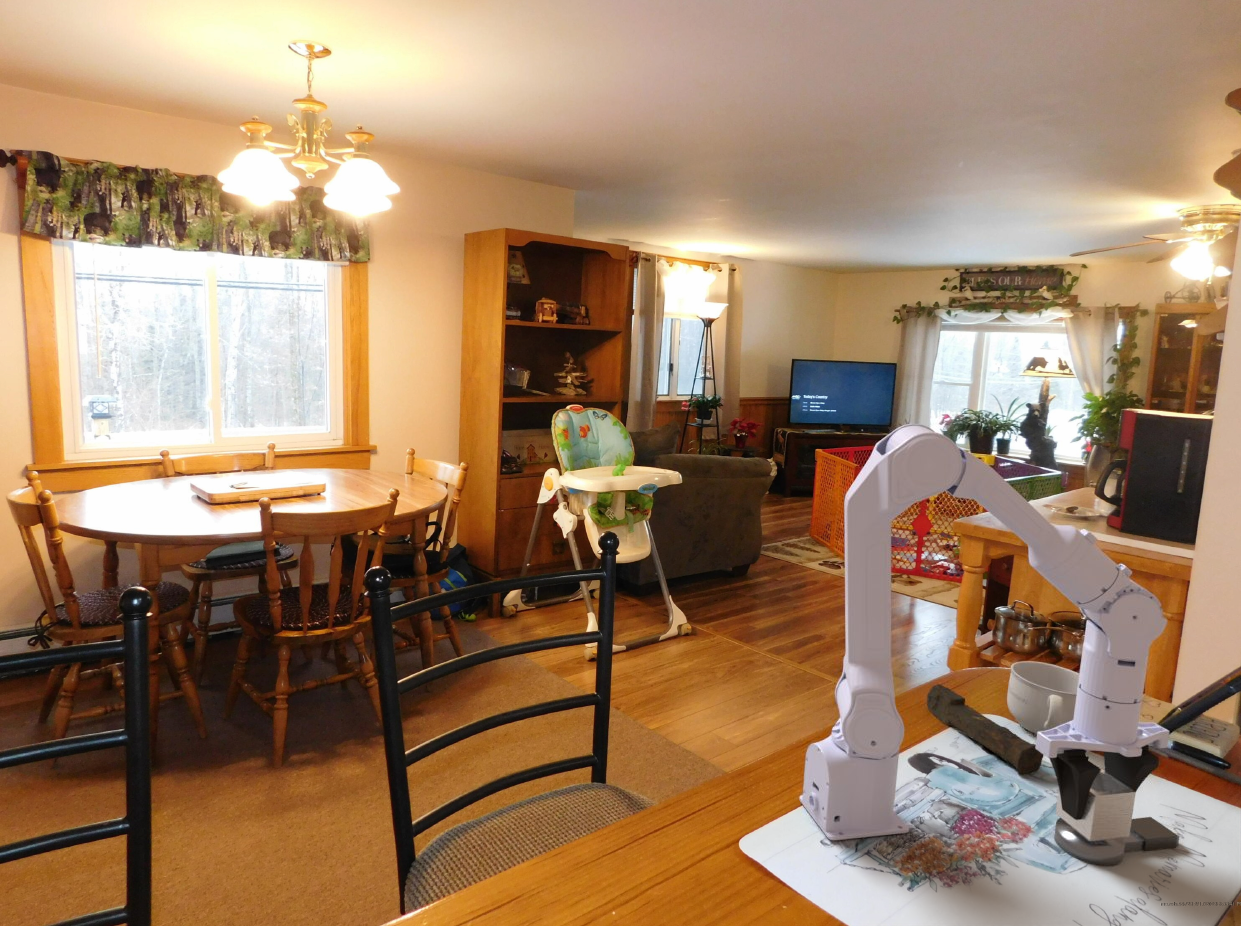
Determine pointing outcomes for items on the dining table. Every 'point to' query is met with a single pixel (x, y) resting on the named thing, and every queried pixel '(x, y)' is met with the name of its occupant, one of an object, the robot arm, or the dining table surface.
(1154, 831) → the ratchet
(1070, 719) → the teacup
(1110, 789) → the socket
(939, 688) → the brown wooden log
